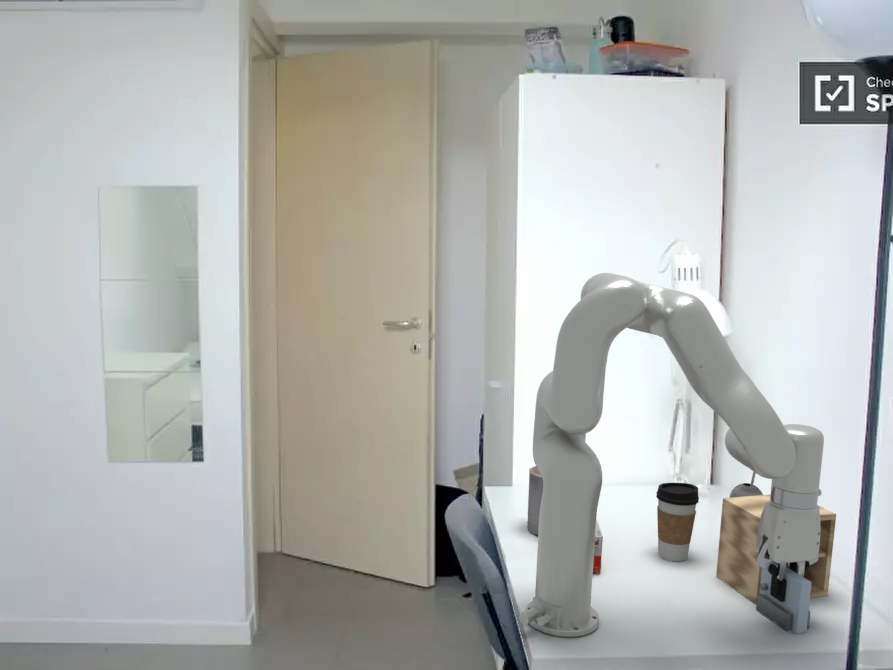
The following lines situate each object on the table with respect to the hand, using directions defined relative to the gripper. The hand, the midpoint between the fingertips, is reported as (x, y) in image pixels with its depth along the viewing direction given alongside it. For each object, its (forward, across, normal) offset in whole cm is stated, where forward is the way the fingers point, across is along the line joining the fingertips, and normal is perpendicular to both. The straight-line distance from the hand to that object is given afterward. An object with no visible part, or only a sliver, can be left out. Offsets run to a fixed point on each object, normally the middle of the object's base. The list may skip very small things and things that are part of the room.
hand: (783, 596), depth 143 cm
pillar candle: (+4, +24, -47) cm, 53 cm away
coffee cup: (+4, +4, -29) cm, 29 cm away
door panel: (+4, 0, 0) cm, 4 cm away
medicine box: (+5, +24, -32) cm, 40 cm away
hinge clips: (+4, 0, 0) cm, 4 cm away
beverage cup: (+4, -11, -25) cm, 28 cm away
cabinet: (+4, -7, -12) cm, 14 cm away
